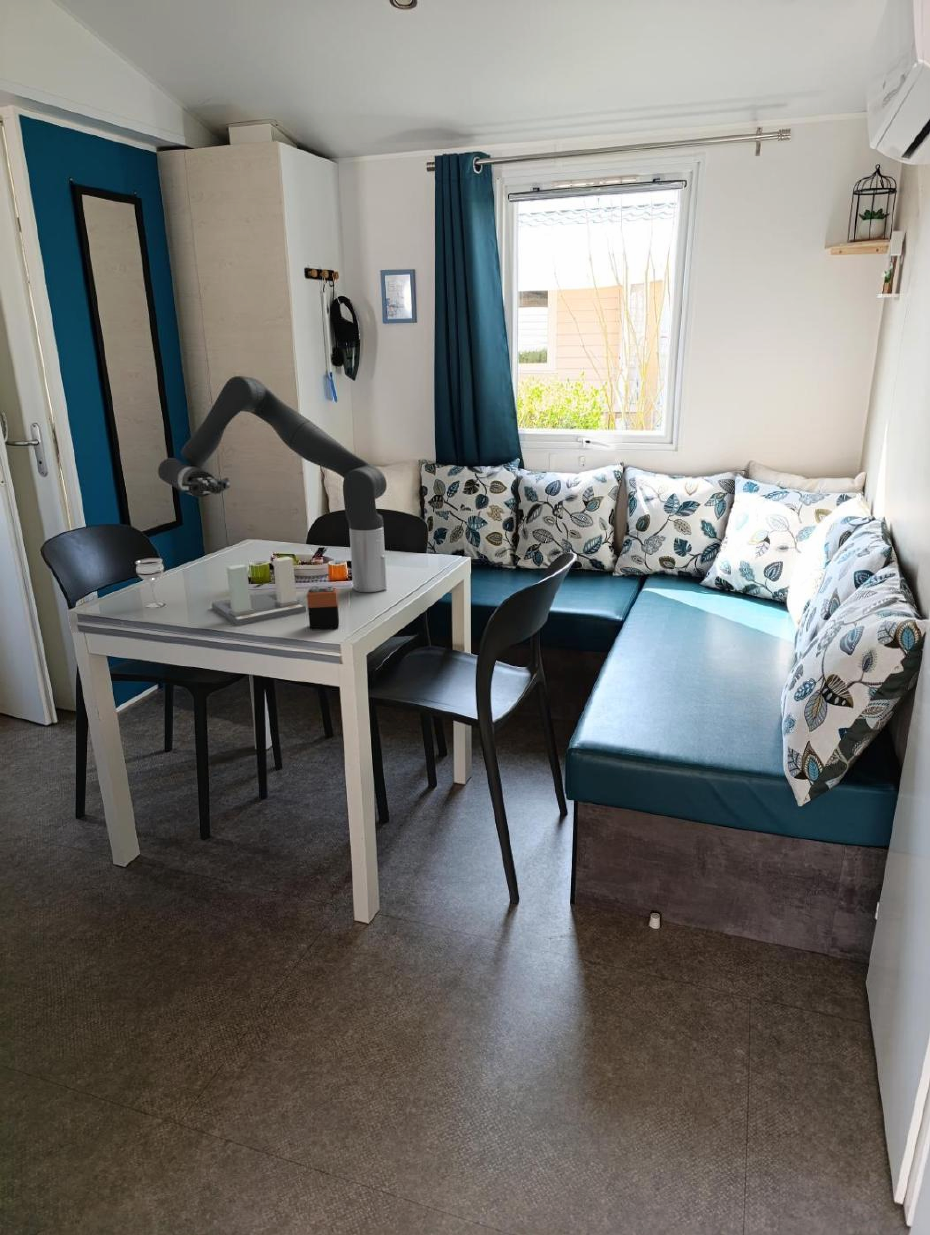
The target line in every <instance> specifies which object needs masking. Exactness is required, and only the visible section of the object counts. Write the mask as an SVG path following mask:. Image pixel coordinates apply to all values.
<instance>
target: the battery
mask: <svg viewBox="0 0 930 1235" xmlns="http://www.w3.org/2000/svg"><path fill="white" fill-rule="evenodd" d="M306 596H307V597H306V598H307V606H308V607H307V609H308V611H307V612H308V622H309V630H311V629H322V630H332V629H331V628H337V629H339V627H340V626H339V625H340V617H339V615H340V614H339V601H338V600H339V599H338V589H337V588H336V587H333V586H332V585H330V586H329V585H328V586H326V587H324V588H320V586H316V585H313V586H310V589H308V591H307V594H306Z"/></svg>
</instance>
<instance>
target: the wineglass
mask: <svg viewBox="0 0 930 1235" xmlns="http://www.w3.org/2000/svg"><path fill="white" fill-rule="evenodd" d="M135 564H136V568H135V571H136V572H135V573H136V574H137V575H138V577H139V578H141V579H142V580H143V581H147V582H148V583H150V587H151V593H152V599H153V602H152V603H149V605H148V604H147V605H148V607H159V606H162V605H163V603H164V602H156V593H155V582H156V580H158V579H160V578H161V576H162V575H163V574H164V570H165V567H164V565H163V559H162V558H158V557H150V558H143V559H138V560H136V561H135ZM159 608H160V607H159Z"/></svg>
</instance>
